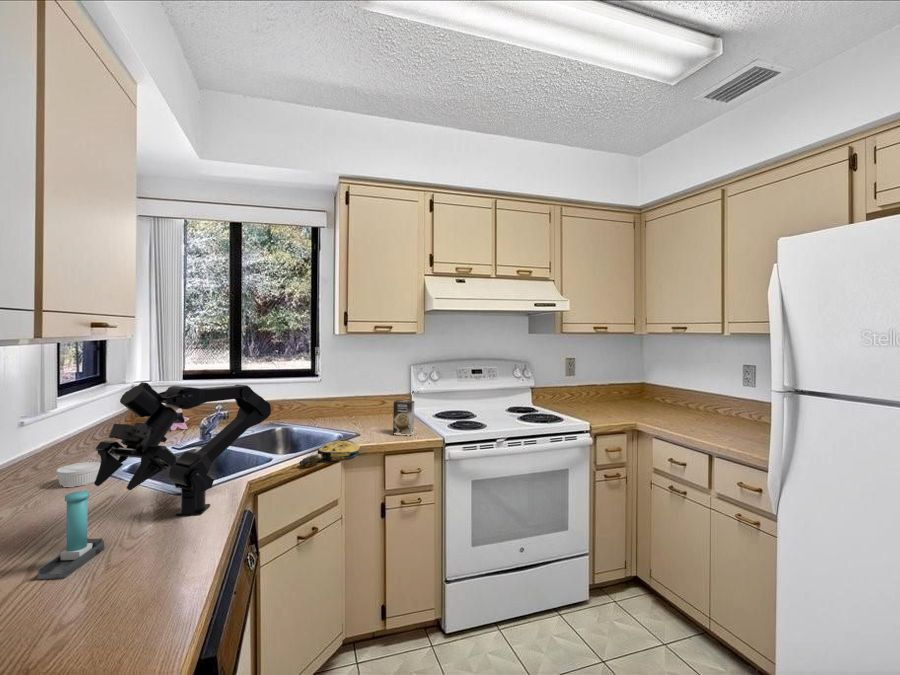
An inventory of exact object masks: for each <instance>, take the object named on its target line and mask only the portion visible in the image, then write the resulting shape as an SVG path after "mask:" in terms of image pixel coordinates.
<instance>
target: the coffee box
mask: <svg viewBox="0 0 900 675" xmlns="http://www.w3.org/2000/svg"><path fill="white" fill-rule="evenodd" d="M414 419H415V401H414V400H399V399H398V400H394V401H393V418H392V420H393V422H392V434H393V433H401V434H411V433H412V432H413V431H415V430H414V429H415V428H414V426H415V425H414V424H415V423H414V422H415V421H414Z"/></svg>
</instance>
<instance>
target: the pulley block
mask: <svg viewBox="0 0 900 675" xmlns="http://www.w3.org/2000/svg"><path fill="white" fill-rule="evenodd" d="M360 447H361V446H360V445H359V444H357V443H355V442H354V441H351V440H347V439H340V440H337V441H330V442H328V443H327V442H326V443H325V444H324V445H322V446H320V447H319V448H318V449H317V453H316V454H312V455H310V456H309V455H308V456H307V457H304V458H302V460H300V461H299V464H298V466H299V465H300V466H303V467H304V466H306V465H309V464H311V463H312V464H313V463H315V462H319V463H329V462H341V461H350V460H353V459H356V458H358V457H359V455H360V454H359V453H363V452H367V449H366V450H360V451H359V449H360Z"/></svg>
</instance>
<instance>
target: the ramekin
mask: <svg viewBox="0 0 900 675" xmlns="http://www.w3.org/2000/svg"><path fill="white" fill-rule="evenodd" d="M100 464H101V462H99V461H98V462H97V461H86V462H77V463H72V464H71V463H70V464H67V465H63V466H61V467H58V468H57V469H56V472H55V473H56V475H57V478H58V483H59V485H60V486H61V485H62V486H77V485H83V484H87V483H91V482H94V481H95V480H96V477H97V474H98V471H99V468H100ZM62 486H61V487H62Z"/></svg>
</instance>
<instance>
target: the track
mask: <svg viewBox="0 0 900 675" xmlns="http://www.w3.org/2000/svg"><path fill="white" fill-rule="evenodd" d="M87 543H92V548H91V549H90V550H88V551H87V552H86V553H84V554H83V555H81V556H80V557H78V558H77V559H76V560H60V554H59V555H57V556H56V557H54V558H53V559H51V560H49V561H48V562H46V563H45V564H44V565H42V566H40V567H39V568H37V580H57V579H58V580H59V579H61V580H62V579H66V578H67V577H69V576H70V575H72V574H73V573H74V572H75V571H77V570H78V569H80V568H82V566H84V565H85V564H86V563H88V562H89V561H90V560H92V559H94V557H96V556H97V555H99V554H100V553H101V552H103V551H104V550H105V540H103V538H87Z"/></svg>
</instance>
